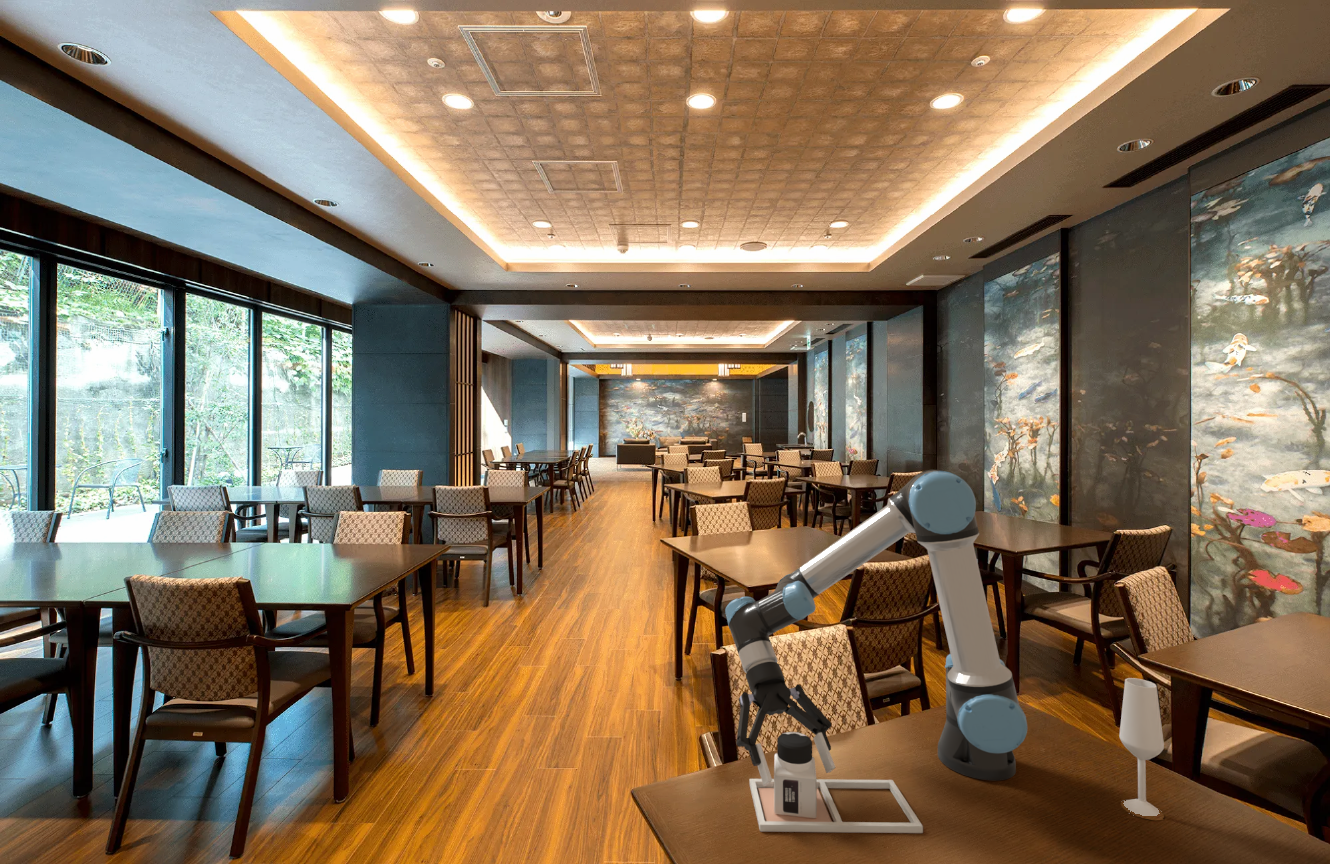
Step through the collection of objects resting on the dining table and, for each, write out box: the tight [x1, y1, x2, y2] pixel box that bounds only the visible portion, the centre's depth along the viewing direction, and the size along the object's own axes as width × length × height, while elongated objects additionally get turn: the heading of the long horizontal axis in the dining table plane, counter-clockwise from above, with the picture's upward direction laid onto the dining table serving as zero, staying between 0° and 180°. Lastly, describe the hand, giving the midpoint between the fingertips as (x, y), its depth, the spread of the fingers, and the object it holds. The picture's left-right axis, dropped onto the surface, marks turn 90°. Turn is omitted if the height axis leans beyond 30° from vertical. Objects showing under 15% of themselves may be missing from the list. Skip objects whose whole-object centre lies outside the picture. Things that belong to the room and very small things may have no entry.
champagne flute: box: [1119, 677, 1165, 816], centre depth 116 cm, size 7×7×24 cm
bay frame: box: [749, 778, 924, 834], centre depth 116 cm, size 29×15×1 cm, turn 89°
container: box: [773, 731, 817, 819], centre depth 117 cm, size 8×8×13 cm
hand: (800, 776), depth 114 cm, fingers open, 13 cm apart
